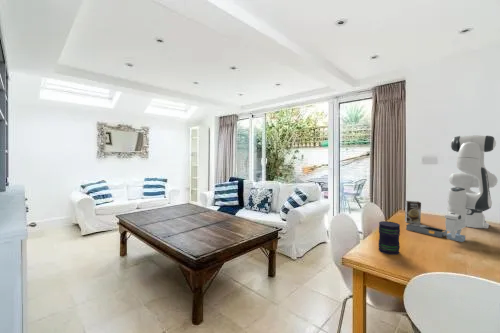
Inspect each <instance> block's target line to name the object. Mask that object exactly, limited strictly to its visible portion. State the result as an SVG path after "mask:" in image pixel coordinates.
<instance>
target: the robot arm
mask: <svg viewBox="0 0 500 333" xmlns="http://www.w3.org/2000/svg"><path fill="white" fill-rule="evenodd" d="M496 144H497V140H496V139H495V137H494V136H493V135H492V136H491V135H464V136H463V135H462V136H461V135H459V136H454V137H453V138H452V139H451V141H450V145H449V146H450V148H451V150H452V151H453V152H456V153H457V156H456V168H457V169H458V170H459V172H452V173H451V174H450V175H449V177H448V181H449V183H450V184H451V185H452V186H453V187H450V188H449V190H448V194H447V203H448V204H447V210H446V213H445V214H444V218H445V222H444V223H445V230H446V231H447V232H448V233H451V235H452V238H456V234H460V235H461V233H462V229H464V228H466V227H467V228H474V229H489V227H490V223H488V222H487V221H486V216H485V215H484V213H483V212H486V211H488V210H489V209H491V208H492V204H493V201H492V199H491V192H490V188H494V187H496V186H497V185H498V184H497V183H498V178H497V176H496V175H495V174H494V173H492V172H490V171H489V170H488V169H487V168H486V166H485V153H488V152H492V151H493V150H494V149H495V147H496V146H497V145H496ZM471 188H476V189H477V188H478V190H479V191H478V193H477V192H475V191H472V189H471Z"/></svg>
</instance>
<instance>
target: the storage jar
mask: <svg viewBox="0 0 500 333" xmlns="http://www.w3.org/2000/svg"><path fill="white" fill-rule="evenodd" d="M378 223H379V224H378V234H379V236H378V238H379V239H378V252H380V253H382V254H385V255H391V256H396V255H399V254H400V248H401V247H400V235H401V234H400V233H401V228H400V226H401V225H400V224H399V223H398V222H395V221H388V220H387V221H386V220H385V221H382V220H381V221H378Z"/></svg>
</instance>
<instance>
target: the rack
mask: <svg viewBox="0 0 500 333" xmlns="http://www.w3.org/2000/svg"><path fill="white" fill-rule="evenodd" d="M405 225H406V227H405V229H406V231H410V232H415V233H419V234H424V235H427V236H432V237H437V238H441V239H443V238H445V237H447V234H448V231H446V229H443V228H441V229H440V228H437V227H432V226H428V225H425V224H421V223H420V224H417V223H408V224H405ZM442 237H443V238H442Z"/></svg>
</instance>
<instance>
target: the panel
mask: <svg viewBox="0 0 500 333" xmlns="http://www.w3.org/2000/svg"><path fill="white" fill-rule="evenodd" d="M446 239H447V240H451V241H455V242H456V241H457V242H460V243H463V242H465V241H466V235H464V234H461V233H460V234H456V238H452V235H451V232H447V236H446Z"/></svg>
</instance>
